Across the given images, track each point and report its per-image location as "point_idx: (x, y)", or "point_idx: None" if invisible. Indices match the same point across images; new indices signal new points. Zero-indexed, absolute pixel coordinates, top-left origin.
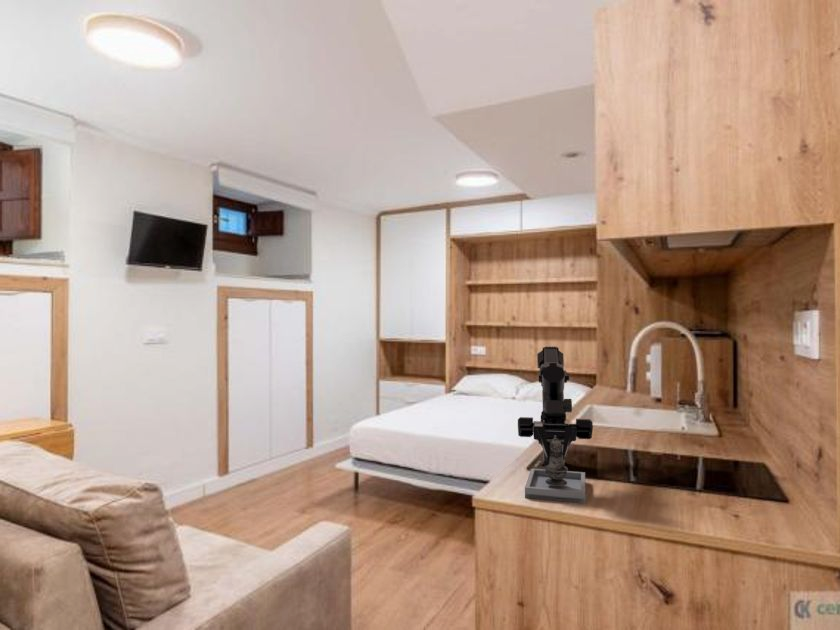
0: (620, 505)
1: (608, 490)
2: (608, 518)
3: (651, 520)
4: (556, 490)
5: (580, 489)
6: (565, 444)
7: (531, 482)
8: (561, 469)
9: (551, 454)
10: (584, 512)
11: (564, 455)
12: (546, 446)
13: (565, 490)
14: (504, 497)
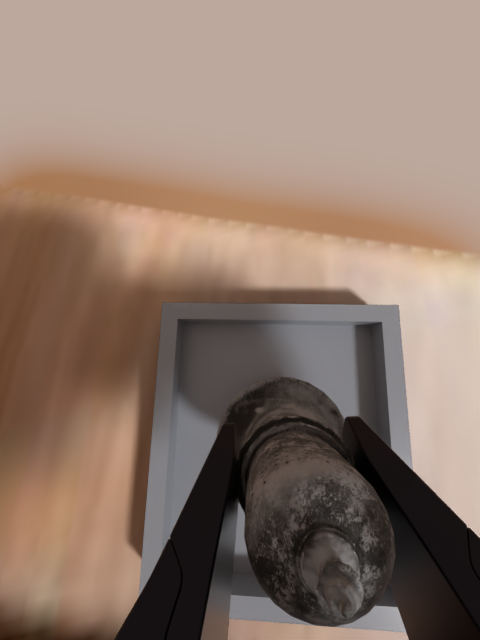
0: (67, 321)
1: (77, 474)
2: (121, 211)
3: (10, 227)
4: (269, 304)
5: (180, 412)
6: (198, 527)
7: (383, 413)
8: (250, 405)
9: (326, 428)
10: (183, 237)
11: (224, 426)
12: (400, 484)
13: (235, 309)
14: (452, 301)
